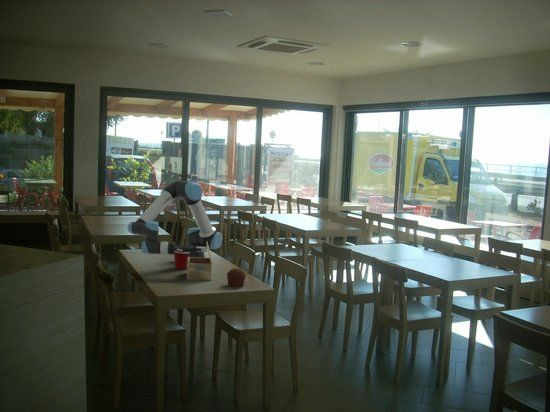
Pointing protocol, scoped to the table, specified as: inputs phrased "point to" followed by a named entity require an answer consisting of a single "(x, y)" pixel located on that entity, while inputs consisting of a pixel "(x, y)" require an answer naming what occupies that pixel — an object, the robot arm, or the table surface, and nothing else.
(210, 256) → the flap
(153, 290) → the table surface
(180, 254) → the plastic cup
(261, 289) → the table surface
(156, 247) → the robot arm
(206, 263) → the light wood open box
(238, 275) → the muffin
